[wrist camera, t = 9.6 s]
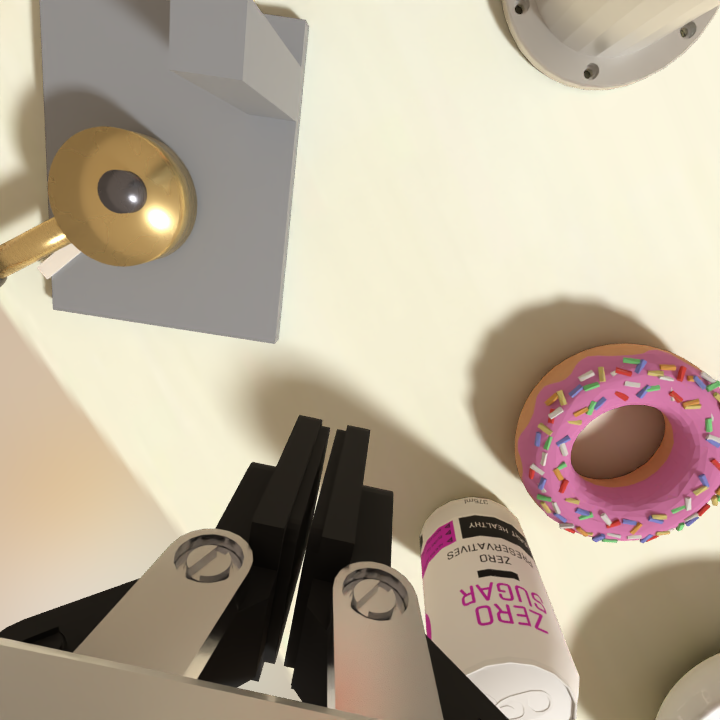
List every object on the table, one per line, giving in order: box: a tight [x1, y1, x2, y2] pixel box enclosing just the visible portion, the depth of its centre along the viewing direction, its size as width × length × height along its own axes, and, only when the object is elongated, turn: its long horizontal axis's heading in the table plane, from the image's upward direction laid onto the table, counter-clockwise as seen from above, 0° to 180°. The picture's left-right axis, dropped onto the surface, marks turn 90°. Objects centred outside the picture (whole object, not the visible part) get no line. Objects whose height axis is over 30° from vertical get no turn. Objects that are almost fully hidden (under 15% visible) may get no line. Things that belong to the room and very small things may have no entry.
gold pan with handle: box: [0, 126, 197, 287], centre depth 33 cm, size 16×8×4 cm, turn 114°
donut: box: [515, 343, 720, 543], centre depth 36 cm, size 14×14×5 cm
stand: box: [37, 0, 309, 344], centre depth 28 cm, size 20×17×13 cm
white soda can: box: [419, 497, 579, 720], centre depth 35 cm, size 8×8×15 cm
